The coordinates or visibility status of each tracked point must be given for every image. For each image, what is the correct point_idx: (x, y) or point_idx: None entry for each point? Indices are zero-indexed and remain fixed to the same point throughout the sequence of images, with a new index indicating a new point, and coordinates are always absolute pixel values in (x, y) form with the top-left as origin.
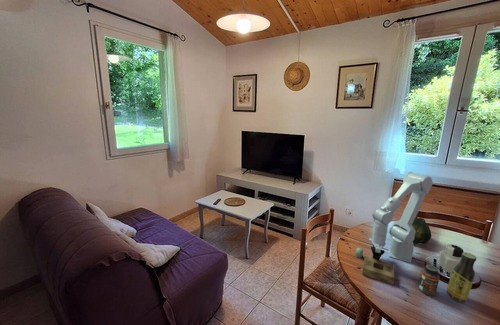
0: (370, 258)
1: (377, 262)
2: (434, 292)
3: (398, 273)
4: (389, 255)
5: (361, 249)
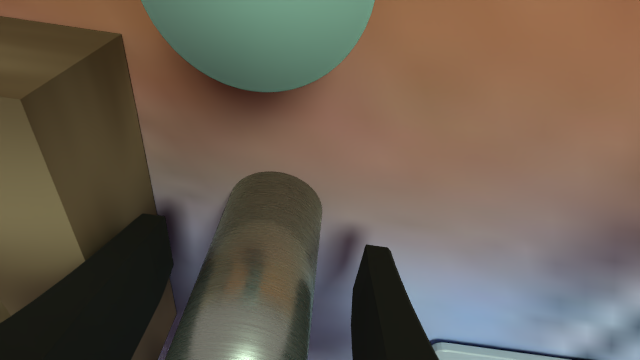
0: (32, 205)
1: (4, 283)
2: None
3: (169, 340)
4: (448, 354)
5: (275, 42)
